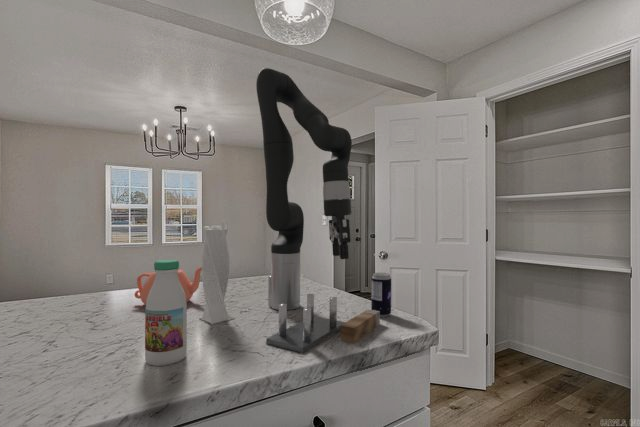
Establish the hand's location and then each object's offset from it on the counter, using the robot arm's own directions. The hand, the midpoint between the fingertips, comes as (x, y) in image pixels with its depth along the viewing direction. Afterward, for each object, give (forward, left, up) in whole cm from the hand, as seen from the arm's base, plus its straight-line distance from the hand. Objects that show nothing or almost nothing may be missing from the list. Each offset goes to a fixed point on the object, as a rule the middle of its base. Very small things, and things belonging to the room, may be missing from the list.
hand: (340, 257), depth 94 cm
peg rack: (-2, -13, -18) cm, 22 cm away
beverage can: (+7, +12, -18) cm, 23 cm away
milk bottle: (-19, -40, -18) cm, 48 cm away
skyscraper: (-30, -17, -18) cm, 39 cm away
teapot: (-56, -13, -18) cm, 60 cm away
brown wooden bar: (+8, -4, -18) cm, 20 cm away
